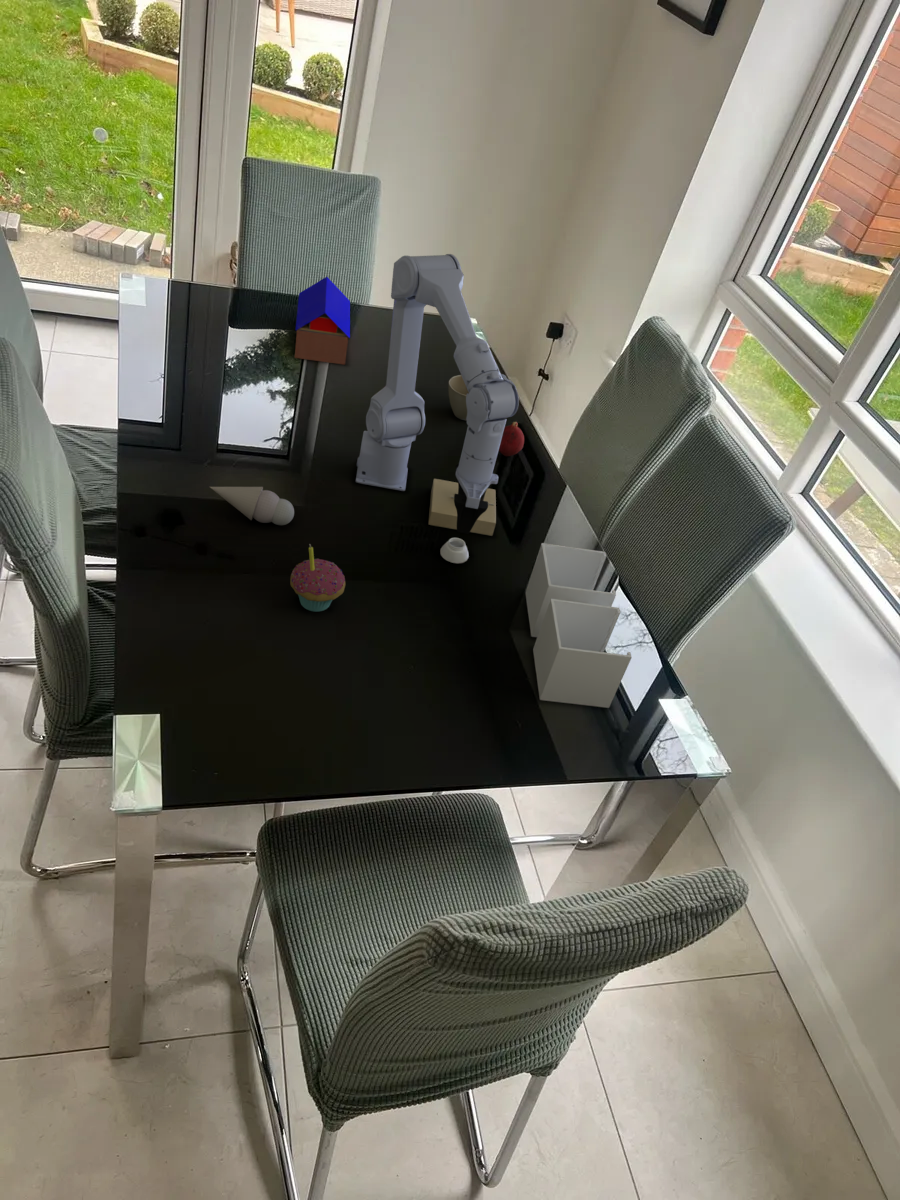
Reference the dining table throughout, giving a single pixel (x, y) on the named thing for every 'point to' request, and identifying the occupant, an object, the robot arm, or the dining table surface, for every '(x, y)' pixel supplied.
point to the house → (322, 323)
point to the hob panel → (446, 512)
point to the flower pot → (458, 396)
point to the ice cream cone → (258, 504)
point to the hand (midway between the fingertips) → (463, 518)
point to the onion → (511, 440)
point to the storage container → (573, 628)
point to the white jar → (455, 551)
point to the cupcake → (317, 582)
